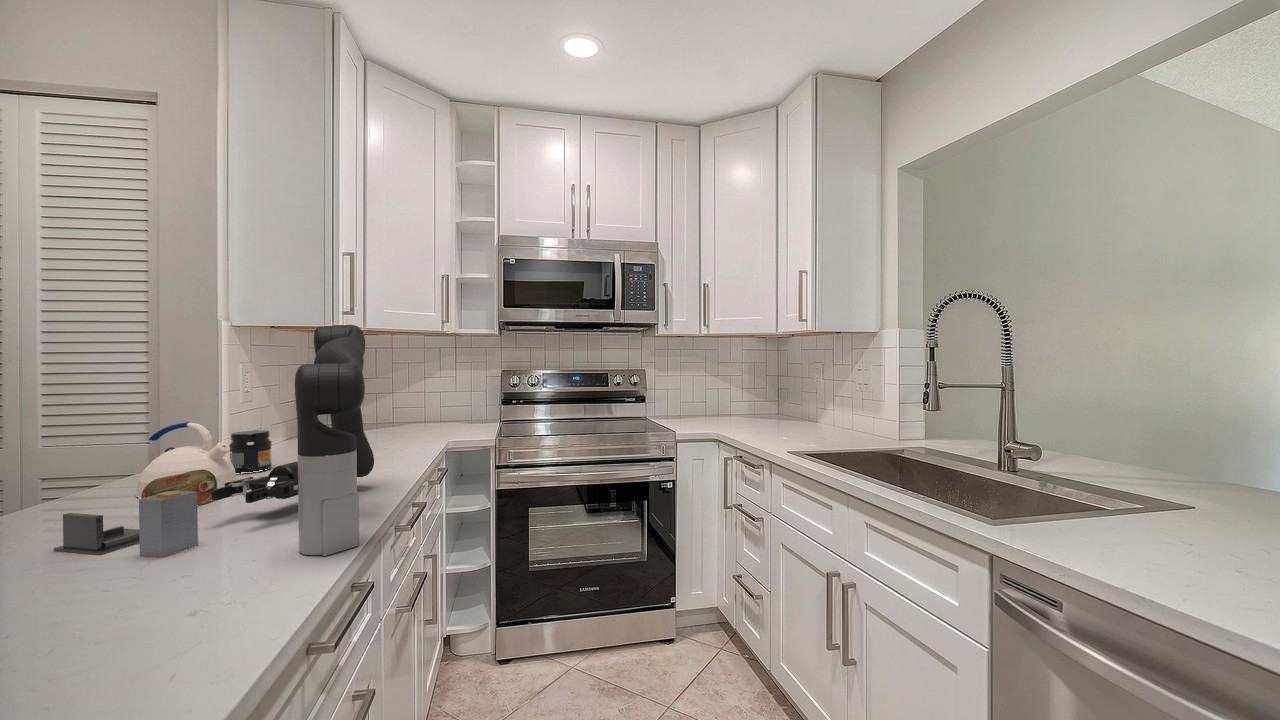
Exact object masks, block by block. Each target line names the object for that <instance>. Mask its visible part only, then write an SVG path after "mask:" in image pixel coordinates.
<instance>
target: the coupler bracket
mask: <svg viewBox="0 0 1280 720" xmlns="http://www.w3.org/2000/svg"><path fill="white" fill-rule="evenodd" d="M62 539H63V541H62V544H63V545H60V546H56V547H53V551H54V552H62V553H73V554H83V555H85V554H86V555H94V556H102V555H105V554H108V553H111V552H115V551H118V550H121V549H120V548H122V549H124V548H123V547H125V548H128V547H131V546H134V545H133V544H135V545H137V543H138V544H140V542H139V529H137V528H125V526H122V525H120V526H115V527H112V528H109V529H104V515H103V514H91V513H78V512H77V513H76V512H75V513H74V512H68V513H64V514H62ZM130 545H131V546H130ZM127 546H128V547H127ZM117 549H118V550H117Z"/></svg>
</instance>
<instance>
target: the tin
mask: <svg viewBox="0 0 1280 720" xmlns="http://www.w3.org/2000/svg"><path fill="white" fill-rule="evenodd" d="M214 489H217V480H216V478H215V476H214V475H213V474H212V473H211V472H210V471H207V470H194V471H189V472H184V473H180V474H175V475H171V476H166V477H162V478H157V479H155V480H153V481H151V482H150V483H149V484H148V485H147V486H146V487H145V488H144V490H143V492H142V496H141V498H146V497H150V496H154V495H156V494H159V493H163V492H167V491H193V492H197V505H200V506H202V505H201V504H203V505H206V504H207V503H208V502H210V501H211V500H212V499H211V492H212V490H214Z"/></svg>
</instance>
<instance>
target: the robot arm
mask: <svg viewBox="0 0 1280 720" xmlns="http://www.w3.org/2000/svg"><path fill="white" fill-rule="evenodd" d="M313 347H314V353H315V357H314V360H313V363H306V364H302V365H299V367H298V368H297V370H296V372H295V376H294V397H295V408H296V422H297V427H296V428H297V460H296V461H293V462H289V463H285V464H281V465H277V466H275V467H274V468H273V469H271V471H270V472H269V474H268V475H263V476H259V477H256V478H254V477H252V476H249V477H246V478H241V479H236V481H232V482H227V483H225V487H222V488H218V489H214V490H212V492H211V500H212V501H220V500H223V499H228V498H231V497H237V496H242V497H245V503H246V504H252V503H256V502H259V501H262V500H265V499H266V500H271V499H273V498H275V499H278V500H280V499H281V500H287V499H290V498H293V497H295V496H296V497H297V501H298V502H297V504H298V505H297V506H298V507H297V509H298V512H297V514H298V517H297V518H298V550H299V551H298V552H299V553H300V554H302V555H306V556H322V557H324V556H327V557H328V556H330V555H333V554H336V553H339V552H342V551H345V550H348V549H351V548H356V547H357V546H360V499H359V498H360V497H359V494H358V478H364V477H367V476H368V475H370V473H371V472H372V470H373V469H374V465H375V455H374V452H373V449H372V446H371V444H370V442H369V439H368V437H367V435H366V433H365V430H364V424H363V423H364V422H363V414H362V409H361V406H362V404H363V402H364V398H365V393H366V391H365V390H366V388H365V387H366V385H365V384H366V383H365V378H364V374H363V371H364V359H365V358H364V355H365V353H366V339H365V335H364V332H363V330H362V328H360V326H358V325H354V324H338V325H337V324H336V325H325V326H323V325H321V326H318V327H316V328H315V330H314V332H313ZM321 415H323V416H324V415H329V417H330V423H331V427H330V426H329V425H327V424H324V422H322V421H320V420H319V416H321Z"/></svg>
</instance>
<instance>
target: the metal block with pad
mask: <svg viewBox="0 0 1280 720" xmlns="http://www.w3.org/2000/svg"><path fill="white" fill-rule="evenodd" d="M198 521H199V519H198V506H197V492H193V491H167V492H163V493H159V494H156V495H154V496H150V497H146V498H141V499H139V498H138V526H139V527H138V528H139V529H138V530H139V542H140V543H139V556H140V557H144V556H145V557H146V558H156V559H163V558H166V557H167V558H168V557H169V556H172V555H175V554H179V553H181V551H182V552H185V551H187V550H190V549H193V548H196V547H198V546H199V539H198V538H199V537H198V536H199V533H198V531H199V530H198V529H199V524H198ZM195 546H196V547H195ZM192 547H193V548H192ZM189 548H190V549H189ZM186 549H187V550H186ZM184 550H185V551H184Z"/></svg>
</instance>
